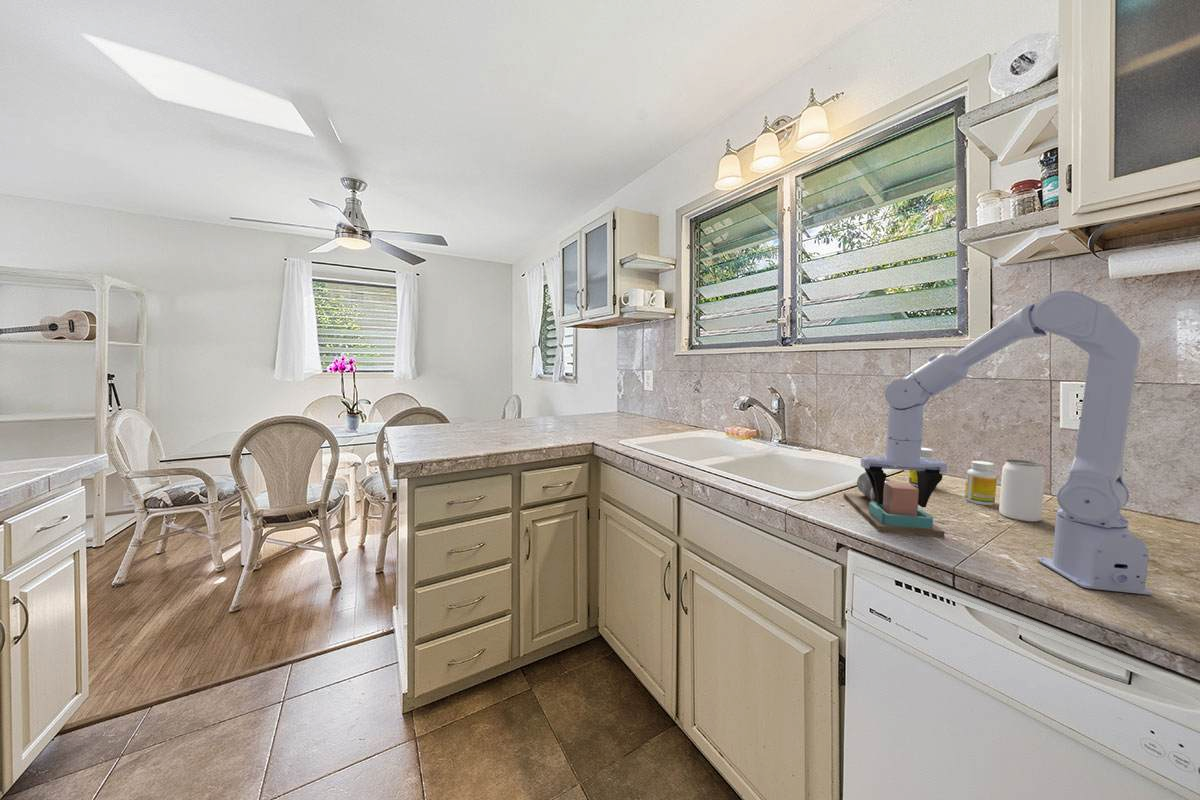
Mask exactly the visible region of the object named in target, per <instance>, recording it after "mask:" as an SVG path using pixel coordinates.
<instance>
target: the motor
mask: <svg viewBox="0 0 1200 800" xmlns="http://www.w3.org/2000/svg"><path fill="white" fill-rule="evenodd" d="M885 482H892V483H895V482H894V481H892V480H891V481H890V480H889V479H888V478H886V479H885ZM856 486H857V489H858V490H859V492H860V494H864V495H865V496H866V497H867V498H869V499H870V500H871V501H872V502H875V496H874V491H873V488H872V484H871V482H870V479H869V477H868V475H867V473H866V471H865V472H863V473H861V474H860V475H859V477H858V478H857V481H856Z"/></svg>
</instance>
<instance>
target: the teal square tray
mask: <svg viewBox="0 0 1200 800" xmlns="http://www.w3.org/2000/svg"><path fill="white" fill-rule="evenodd" d="M882 509H883V504H878V503H877V502H871V501H870V503H869V512H870V513H871V514H872V515H873V516H874V517H875V518H876V519H877V520H879V521H880V522H881V523H884V524H886V525H891V526H903V527H915V528H927V529H932V524H934V523H933V521H934V516H932V515H931V514H929V513H928V512H926V511H924V510H923V509H922V508H920V507H918V510H917V516H910V515H897V514H887V513H886V512H885V511H884V510H882Z"/></svg>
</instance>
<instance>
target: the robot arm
mask: <svg viewBox="0 0 1200 800" xmlns="http://www.w3.org/2000/svg"><path fill="white" fill-rule="evenodd" d="M1047 333H1050V334H1053V335H1056V336H1058V337H1059V336H1060V337H1062V338H1065V339H1067V340H1069V342H1071V343H1073V344H1074V345H1076V346H1077V347H1079V348H1080V349H1082V350H1084V351H1085V352H1086V353H1087V354H1088V355H1089V356H1088V363H1087V369H1086V377H1085V384H1084V389H1083V390H1084V392H1083V396H1082V397H1083V399H1082V404H1081V412H1080V418H1079V425H1078V432H1077V433H1078V434H1077V440H1076V446H1075V452H1074V453H1075V455H1074V458H1073V461H1072V464H1071V467H1070V470H1069V474H1068V478H1067V480H1066V482H1065V483H1064V484H1062V486H1061V487H1060V488H1059V489H1058V490H1057V494H1056V500H1057V504H1058V506H1059V508H1057V509H1056V515H1055V525H1054V527H1055V528H1054V537H1053V545H1052V546H1053V549H1052V558H1050V557H1042V556H1041V557H1040V556H1039V557H1038V556H1037V557H1036V561H1037V562H1039V563H1040V564H1043V565H1044V566H1045V567H1048V568H1049V569H1051V570H1052V571H1054V572H1056V573H1058V574H1060V575H1061V576H1063V577H1064V578H1067V579H1068V580H1070V581H1072V582H1073V583H1075V584H1077V585H1078V586H1080V587H1082V588H1085V589H1091V590H1092V589H1093V590H1099V591H1100V590H1102V591H1110V592H1119V593H1127V594H1129V593H1130V594H1138V595H1147V596H1148V595H1149V596H1150V595H1153V591H1151V590H1150V589H1148V588H1146V583H1147V582H1146V580H1147V573H1148V564H1149V554H1150V553H1149V549H1148V547H1147V545H1146V544H1145V543H1144V541H1143V540H1142V539H1140V538H1139V537H1137V536H1136V535H1134V534H1133V533H1132V531H1130V529H1129V520H1128V519H1126V518H1125V517H1124V515H1123V514H1122V513H1121V511H1122V508H1123V507H1125V506H1126V505H1127V503H1128V502H1129V499H1130V492H1129V489H1128V487H1127V486H1126V484H1125V482H1124V480H1123V473H1124V462H1123V458H1124V452H1125V446H1126V440H1127V433H1128V428H1129V427H1128V426H1129V420H1130V414H1131V408H1132V400H1133V394H1134V387H1135V381H1136V375H1137V369H1138V362H1139V355H1140V351H1141V350H1140V348H1141V341H1140V338H1139V337H1138V336H1137V334H1136V333H1135V332H1134V331H1133V330H1132V329H1131V328H1130V327H1129V326H1128V325H1127V324H1126V323H1125V322H1124V321H1123V320H1122V319H1121V318H1120V317H1119V315H1117V313H1116V312H1115V311H1114V310H1113V308H1112V307H1110V306H1108V305H1107V304H1104V303H1103V302H1100V301H1098V300H1097V299H1095V298H1092V297H1090V296H1088V295H1086V294H1083V293H1082V292H1078V291H1074V290H1060V291H1059V290H1058V291H1054V292H1052V293H1049V294H1047V295H1045V296H1043V297H1042V298H1041V299H1039V300H1038V302H1036V303H1035V304H1034V303H1032V304H1029V305H1027V306H1025V307H1023V308H1022V309H1020V310H1018V311H1016V312H1015V313H1014V314H1012V315H1011V316H1009V317H1007V318H1006V319H1004V320H1003V321H1001V322H1000V323H999V324H997V325H995V326H994V327H993V328H991V329H990V330H988V331H987V332H985V333H984V334H982V335H981V336H979V337H978V338H976V339H975V340H974V341H972V342H970V343H969V344H967V345H966V346H964V347H963V348H962V349H960V350H959V351H956V352H955V353H946V352H945V353H941V354H939V355H937V354H934V355H931V356H930V357H928V358H927V360H928V362H927V363H925V364H924V365H921V367H918V368H917V369H916V370H914V371H913V372H912V371H909V372H907V373H905V378H897V379H894V380H891V382H890V383H889V384H888V385H887V386H886V388H885V390H884V399H885V401H886V403H887V404H888V416H887V430H886V433H887V434H886V451H885V456H878V457H877V456H876V457H869V456H868V457H860V467H861V468H863V469H864V471H865V472H866V473H867V475H868V477H869V479H870V482H871V484H872V488H873V491H874V496H875V502H877V503H878V504H883V493H884V484H885V479H887V473H885V472H884V469H885V470H900V471H901V470H902V471H903V470H905V471H909V470H916V472H917V479H918V487H917V489H919V495H918V507H921V508H927V505H928V502H929V499H930V498H931V495H932V494H933V491H934V490H935V488H937V485H939V483H941V482H942V480H943V474H946V473H947V467H948V466H947V464H948V463H947V462H944V461H941V460H936V461H931V460H921V459H920V457H921V448H922V441H923V440H922V439H923V424H924V423H923V421H924V405H926V404H927V403H928V401H929V400H930V397H932V398H933V397H934V396H937V395H939V394H940V393H941V392H944V391H945V390H947V389H948V388H950V387H952V386H954V385H956V384H957V383H959V382H961V381H962V380H964V379H966V378H967V376H968V374H969V373H968V372H969V369H970V367H972V366H974V365H976V364H977V363H979V362H981V361H983V360H984V359H987V358H989V357H990V356H992V355H993V354H995V353H997V352H1000V351H1001V350H1003V349H1005V348H1007V347H1008V346H1010V345H1012V344H1014V343H1016V342H1017V341H1020V340H1026V339H1032V338H1033V339H1035V338H1041V337H1047ZM941 473H943V474H941Z"/></svg>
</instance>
